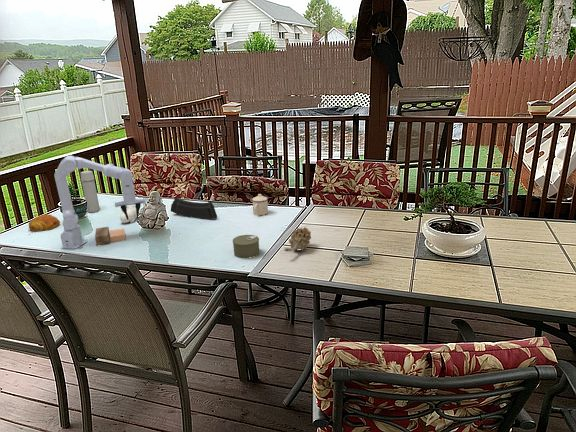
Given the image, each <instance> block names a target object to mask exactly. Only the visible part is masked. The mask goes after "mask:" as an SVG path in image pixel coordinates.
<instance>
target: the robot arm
mask: <svg viewBox="0 0 576 432" xmlns="http://www.w3.org/2000/svg"><path fill="white" fill-rule="evenodd" d="M84 168H87V169H90V170H92V171H93V170H94V171H98V172H101V173H103V174H104V176H106V177H109V178H113V179H117V180H119V179H120V181H121V185H120V186H121V192H122V199H123V201H117V202H114V207H115V208H119V207H120V209H121V212H122V211H123V212H124V214H125V216H126V218H127V220H128V214H127V210H126V206H127V207H128V206H129V205H133V206H136V214H137V218H136V219H139V217H138V215H139V214H140V209H141V204H146V199H145V198H142V199H141V198H140V199H137V198H136V194H135V187H134V186H135V184H134V181H133V174H132V171H131V170H130V169H128V168H127V167H125V168H124V167H122V166H121V167H119V166H115V165H114V164H113V163H110V164H109V163H107V164H105V165H104V164H101V163H98V162H95V161H93V160H89V159H86V158H83V157H79V156H74V155H67V156H65V157H64V158H63V159H62V160H61V161H60V163H59V164H58V167H57V168H56V171H54V175H53V176H54V179H55V180H54V181H55V184H56V189H57V193H58V197H59V201H60V205H61V209H62V217H63V218H62V219H63V220H62V227H63V231H62V232H61V234H60V240H61V245H62V246H61V249H70V250H71V249H73V250H77V249H78V248H80V247H81V246H83V245H84V244H86V243H87V242H88V240H84V239H83V235H82V229H81V226H80V224H78V221H79V215H78V214H77V213H76V212H75V208H74V205H73V201H72V197H71V192H70V187H69V184H68V179H67V177H68V176H69V175H70V174H71V173H73V172H74V171H75V170H76V169H77V170H81V169H84Z"/></svg>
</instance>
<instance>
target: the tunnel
mask: <svg viewBox="0 0 576 432" xmlns="http://www.w3.org/2000/svg"><path fill="white" fill-rule="evenodd" d="M109 235H110V227H109V226H104V227H96V228H95V234H94V238H95V245H96V246H97V247H99V246H98V245H100V246H105V245H110V243H111V241H110V236H109Z"/></svg>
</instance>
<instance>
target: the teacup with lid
mask: <svg viewBox="0 0 576 432" xmlns="http://www.w3.org/2000/svg"><path fill="white" fill-rule="evenodd" d="M268 200H269V198H268V197H267V196H264V195H262V194H261V193H258V194H257V196H255V197H253V198H252V199H251V201H252V211H253V215H254V214H255V215H254V216H258V215H262V216H266V215H268V214H269V206H268V204H269V203H268ZM267 213H268V214H267ZM265 214H266V215H265Z"/></svg>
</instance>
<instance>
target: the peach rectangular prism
mask: <svg viewBox="0 0 576 432" xmlns="http://www.w3.org/2000/svg"><path fill="white" fill-rule="evenodd" d="M125 232H126V231H125V228H119V229H114V230H113V229H112V230H109V233H110V236H109V242H110V243H116V242H123V240H124V241H126V233H125Z"/></svg>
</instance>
